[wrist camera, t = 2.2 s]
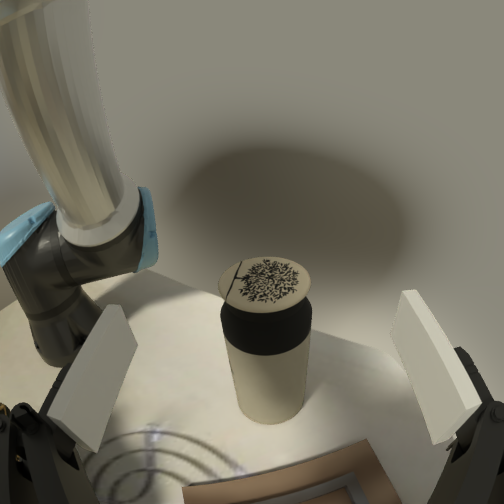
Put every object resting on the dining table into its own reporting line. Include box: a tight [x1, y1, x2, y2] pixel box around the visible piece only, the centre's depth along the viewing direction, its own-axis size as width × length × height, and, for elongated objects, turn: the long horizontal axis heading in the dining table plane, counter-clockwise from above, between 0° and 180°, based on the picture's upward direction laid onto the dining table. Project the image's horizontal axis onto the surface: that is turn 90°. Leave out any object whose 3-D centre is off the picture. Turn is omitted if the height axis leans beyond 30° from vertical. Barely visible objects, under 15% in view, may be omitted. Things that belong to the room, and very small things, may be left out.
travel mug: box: [218, 257, 312, 425], centre depth 27 cm, size 8×8×18 cm
